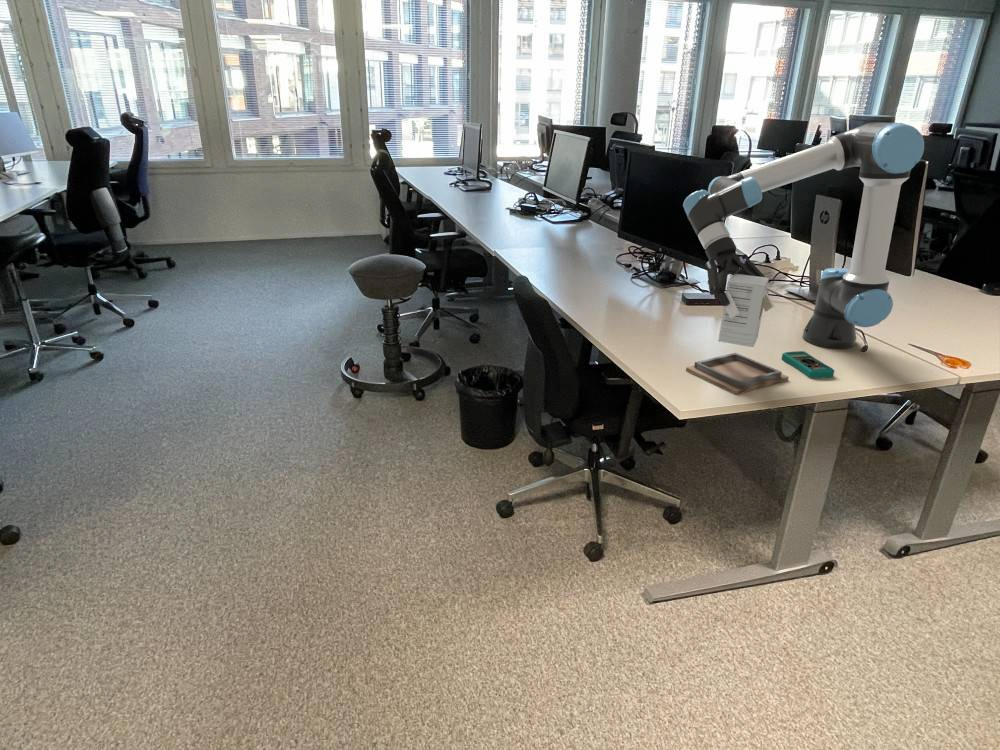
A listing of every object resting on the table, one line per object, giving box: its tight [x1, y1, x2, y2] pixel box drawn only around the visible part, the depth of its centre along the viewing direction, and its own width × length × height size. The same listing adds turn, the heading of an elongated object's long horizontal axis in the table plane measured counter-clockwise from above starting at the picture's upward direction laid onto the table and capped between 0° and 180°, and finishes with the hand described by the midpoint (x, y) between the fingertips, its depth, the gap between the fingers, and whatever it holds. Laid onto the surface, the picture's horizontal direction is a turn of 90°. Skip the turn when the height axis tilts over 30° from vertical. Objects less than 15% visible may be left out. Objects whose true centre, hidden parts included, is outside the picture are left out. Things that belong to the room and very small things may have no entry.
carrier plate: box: [685, 352, 790, 395], centre depth 174 cm, size 20×18×2 cm
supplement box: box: [717, 274, 770, 348], centre depth 168 cm, size 10×9×17 cm
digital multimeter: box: [781, 350, 835, 379], centre depth 180 cm, size 7×15×3 cm, turn 9°
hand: (752, 312), depth 165 cm, fingers closed on supplement box, 12 cm apart
